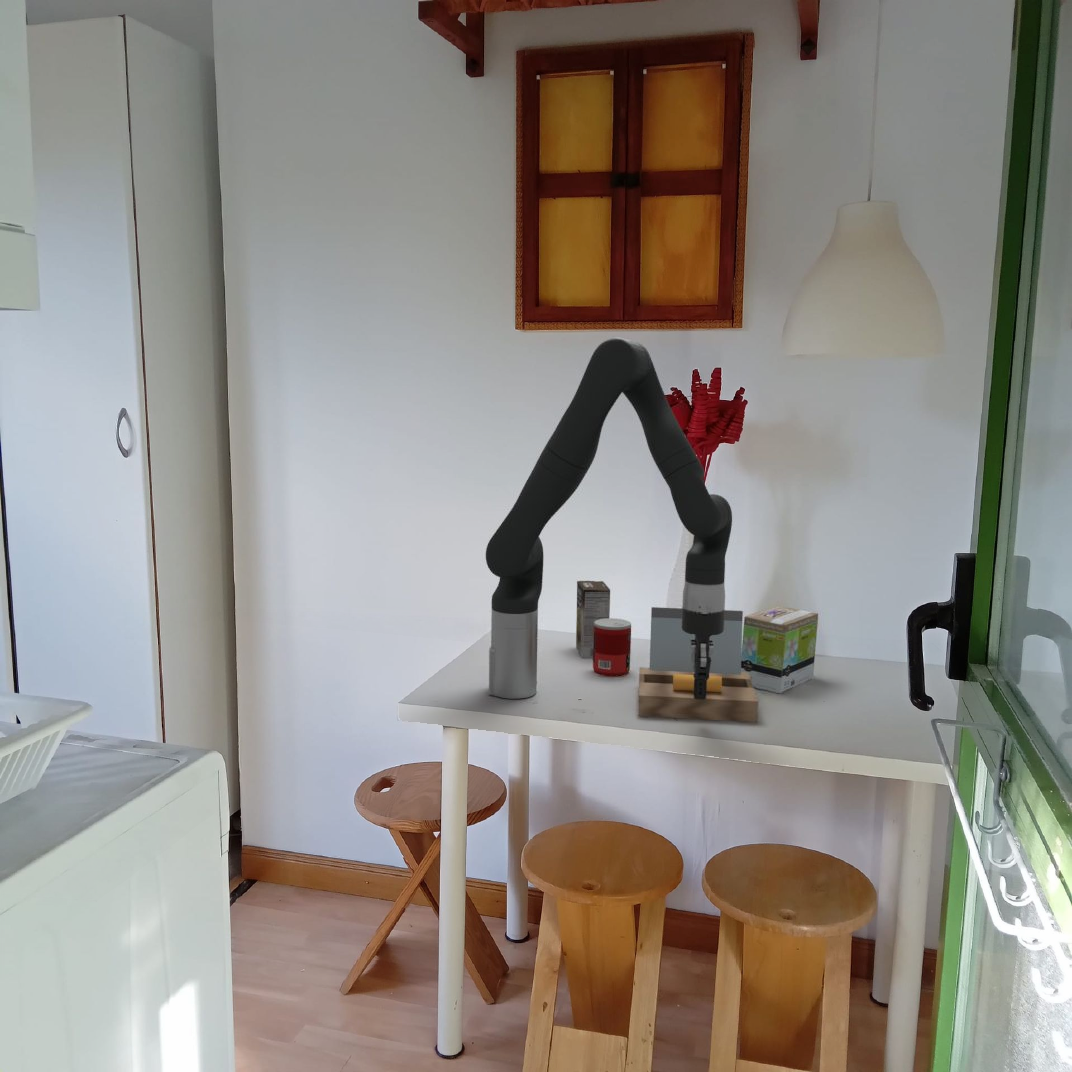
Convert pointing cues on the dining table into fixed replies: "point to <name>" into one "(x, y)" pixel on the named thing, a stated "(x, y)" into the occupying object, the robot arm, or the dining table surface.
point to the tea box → (779, 647)
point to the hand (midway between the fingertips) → (699, 698)
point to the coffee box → (590, 613)
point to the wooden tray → (725, 705)
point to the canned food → (611, 647)
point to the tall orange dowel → (688, 683)
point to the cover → (674, 643)
